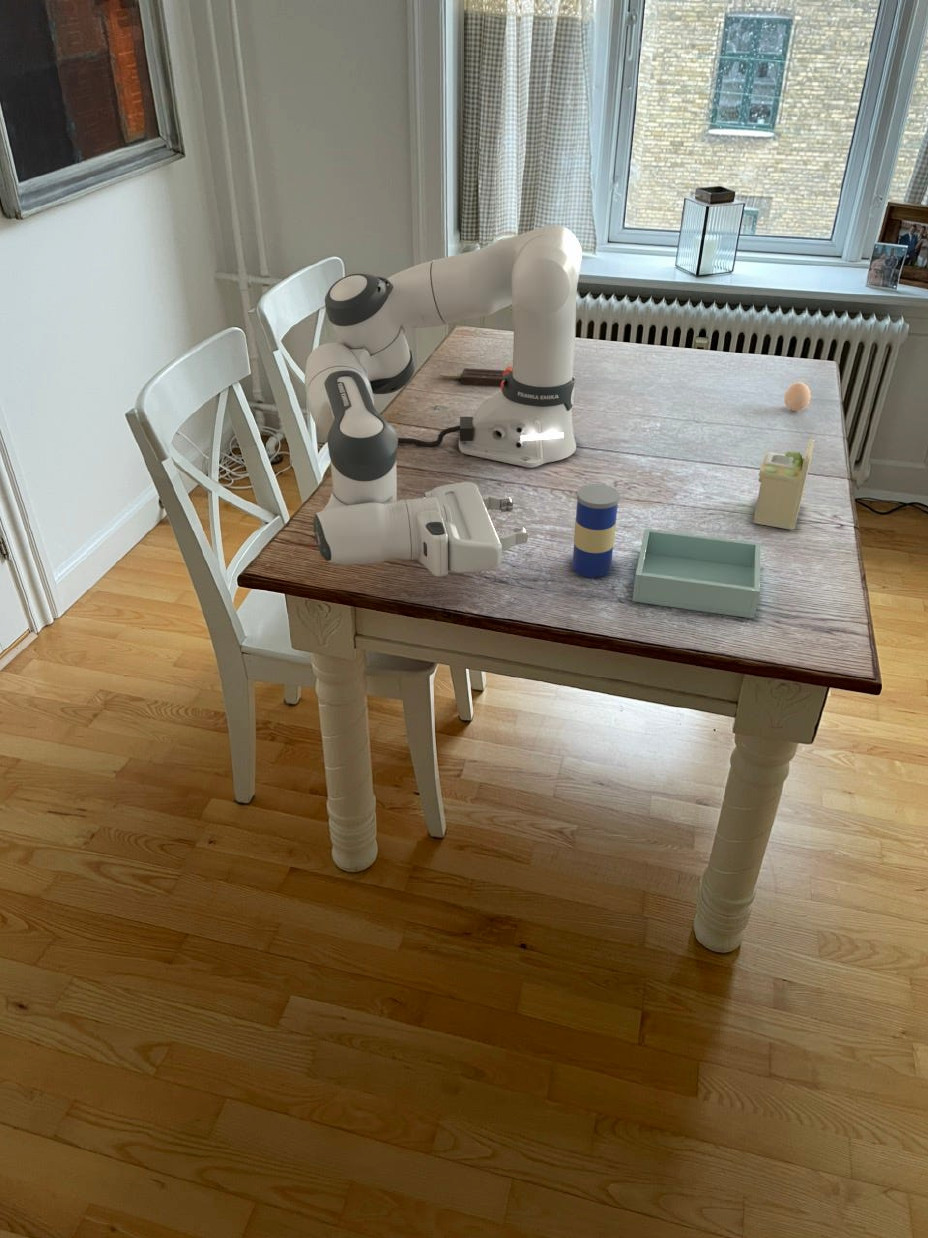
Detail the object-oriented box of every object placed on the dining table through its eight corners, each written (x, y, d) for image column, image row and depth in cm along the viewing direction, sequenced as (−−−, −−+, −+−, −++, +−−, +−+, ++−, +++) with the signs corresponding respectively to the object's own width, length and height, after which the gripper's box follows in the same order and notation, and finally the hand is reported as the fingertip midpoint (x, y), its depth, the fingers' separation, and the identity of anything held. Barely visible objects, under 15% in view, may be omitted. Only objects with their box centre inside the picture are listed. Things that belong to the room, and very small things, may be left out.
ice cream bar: (438, 382, 211) (506, 386, 209) (438, 375, 210) (507, 379, 208) (442, 373, 215) (509, 377, 213) (442, 366, 214) (509, 370, 212)
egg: (782, 403, 202) (787, 376, 198) (807, 406, 200) (813, 379, 197) (781, 413, 198) (787, 386, 194) (807, 416, 197) (813, 389, 193)
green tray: (632, 601, 143) (635, 574, 140) (641, 554, 154) (644, 528, 151) (754, 618, 140) (760, 591, 137) (755, 569, 150) (760, 543, 147)
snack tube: (568, 575, 149) (573, 501, 141) (574, 554, 154) (580, 481, 146) (608, 580, 148) (616, 506, 140) (614, 559, 152) (622, 486, 145)
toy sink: (756, 500, 168) (770, 430, 160) (799, 507, 166) (816, 437, 158) (749, 523, 162) (763, 451, 154) (794, 531, 160) (810, 459, 152)
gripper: (417, 512, 151) (503, 504, 153) (438, 583, 135) (534, 573, 137) (416, 476, 147) (504, 468, 150) (437, 544, 131) (536, 535, 133)
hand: (519, 519), depth 143 cm, fingers open, 8 cm apart
